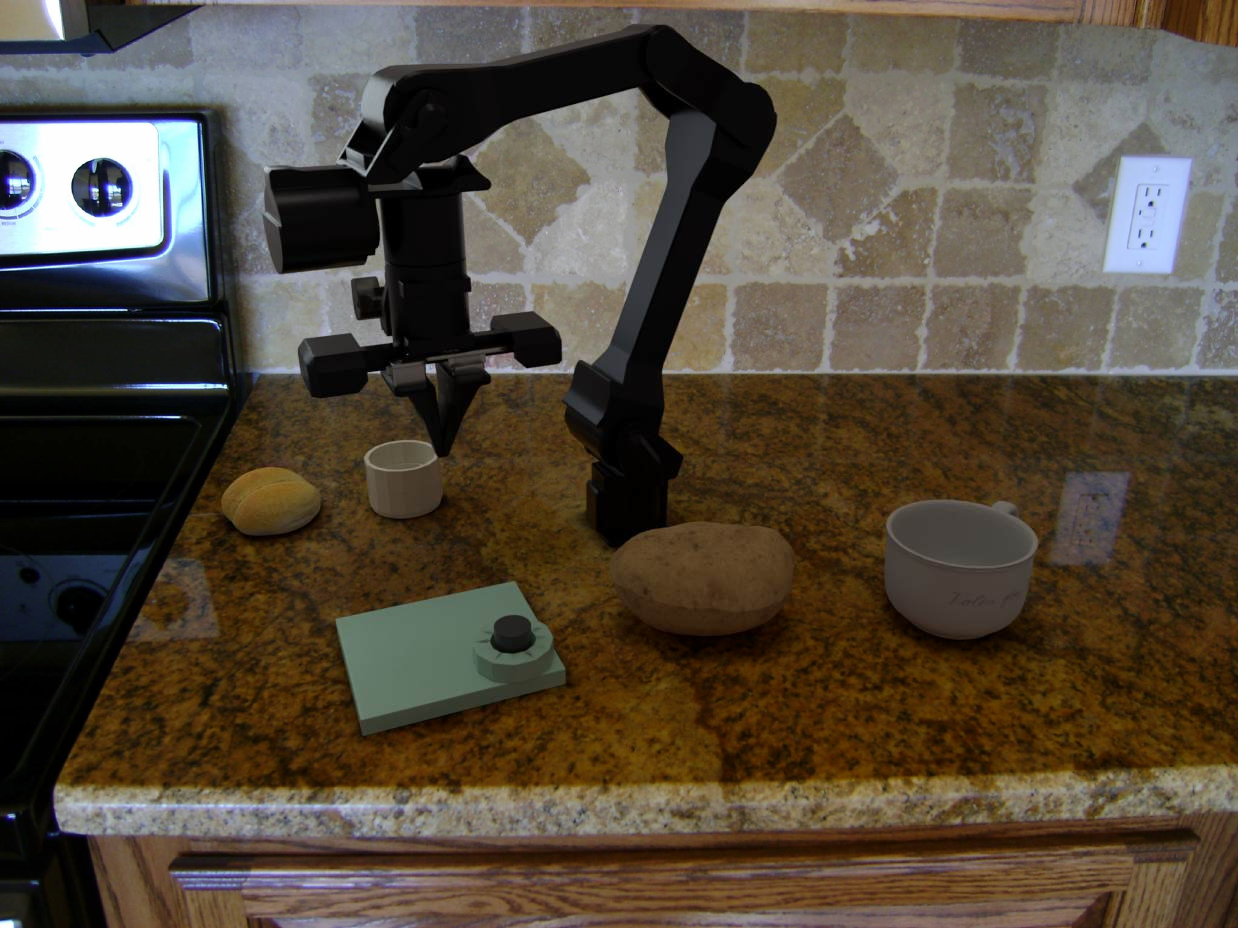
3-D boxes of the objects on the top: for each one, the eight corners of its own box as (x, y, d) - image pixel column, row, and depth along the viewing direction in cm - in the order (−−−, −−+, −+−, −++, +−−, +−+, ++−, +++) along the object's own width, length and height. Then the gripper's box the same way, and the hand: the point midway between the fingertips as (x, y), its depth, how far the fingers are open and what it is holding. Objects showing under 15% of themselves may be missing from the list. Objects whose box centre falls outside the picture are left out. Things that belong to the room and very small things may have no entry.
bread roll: (250, 549, 81) (243, 509, 79) (214, 511, 87) (206, 472, 85) (339, 519, 86) (334, 481, 84) (299, 485, 92) (293, 448, 90)
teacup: (953, 676, 67) (973, 581, 63) (844, 602, 75) (857, 514, 71) (1072, 617, 73) (1096, 529, 70) (960, 555, 82) (977, 473, 78)
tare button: (525, 629, 67) (524, 611, 66) (536, 649, 65) (536, 631, 64) (490, 637, 66) (489, 619, 65) (500, 658, 64) (499, 639, 63)
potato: (605, 590, 76) (606, 504, 73) (775, 586, 77) (784, 501, 73) (611, 665, 67) (612, 571, 64) (803, 660, 68) (814, 567, 65)
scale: (515, 595, 75) (514, 563, 74) (567, 686, 65) (566, 651, 64) (337, 633, 70) (332, 600, 69) (363, 739, 60) (358, 702, 59)
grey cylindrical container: (433, 481, 93) (430, 435, 91) (450, 511, 88) (446, 464, 85) (364, 492, 91) (359, 446, 89) (376, 525, 85) (371, 476, 83)
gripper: (512, 225, 77) (519, 402, 83) (274, 245, 69) (303, 436, 76) (563, 255, 68) (566, 450, 74) (295, 281, 60) (326, 494, 67)
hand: (441, 455), depth 73 cm, fingers closed
